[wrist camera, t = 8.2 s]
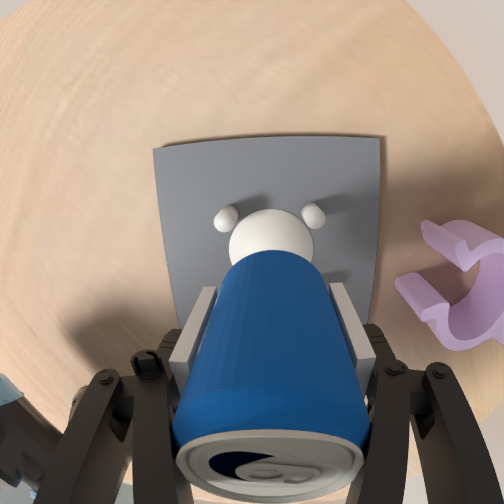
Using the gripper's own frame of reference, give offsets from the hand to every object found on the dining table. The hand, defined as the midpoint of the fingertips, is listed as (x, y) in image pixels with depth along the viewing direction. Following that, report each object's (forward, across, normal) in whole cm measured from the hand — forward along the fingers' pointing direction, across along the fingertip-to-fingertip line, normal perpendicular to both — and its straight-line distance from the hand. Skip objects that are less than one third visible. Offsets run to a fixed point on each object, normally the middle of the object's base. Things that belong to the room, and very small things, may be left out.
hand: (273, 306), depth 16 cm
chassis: (+11, 0, 0) cm, 11 cm away
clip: (+12, +23, -5) cm, 27 cm away
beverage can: (+2, 0, 0) cm, 2 cm away
